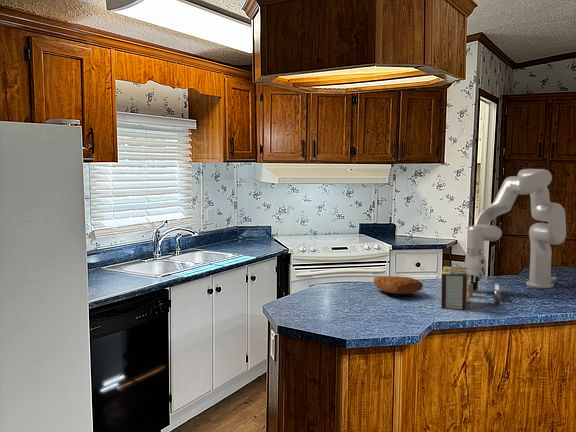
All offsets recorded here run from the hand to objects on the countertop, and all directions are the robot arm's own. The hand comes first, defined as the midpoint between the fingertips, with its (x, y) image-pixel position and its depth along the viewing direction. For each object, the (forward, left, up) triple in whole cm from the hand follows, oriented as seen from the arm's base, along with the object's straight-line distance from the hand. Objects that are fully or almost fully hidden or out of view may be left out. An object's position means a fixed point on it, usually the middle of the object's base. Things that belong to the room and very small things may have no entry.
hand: (473, 289), depth 247 cm
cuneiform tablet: (+34, -15, -2) cm, 37 cm away
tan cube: (0, -4, -2) cm, 5 cm away
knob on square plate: (+5, +19, -2) cm, 20 cm away
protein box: (+23, +12, -2) cm, 26 cm away
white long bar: (-2, +12, -1) cm, 13 cm away
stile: (+7, +4, -2) cm, 9 cm away
